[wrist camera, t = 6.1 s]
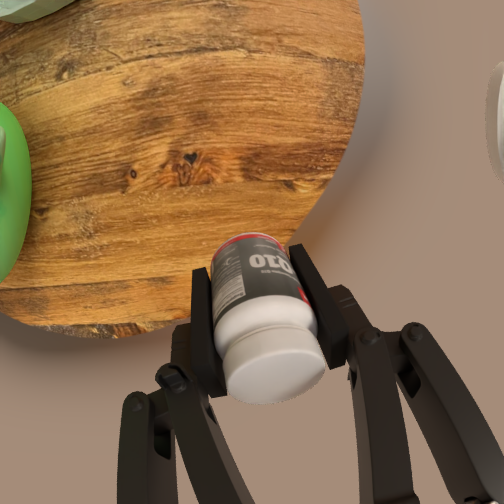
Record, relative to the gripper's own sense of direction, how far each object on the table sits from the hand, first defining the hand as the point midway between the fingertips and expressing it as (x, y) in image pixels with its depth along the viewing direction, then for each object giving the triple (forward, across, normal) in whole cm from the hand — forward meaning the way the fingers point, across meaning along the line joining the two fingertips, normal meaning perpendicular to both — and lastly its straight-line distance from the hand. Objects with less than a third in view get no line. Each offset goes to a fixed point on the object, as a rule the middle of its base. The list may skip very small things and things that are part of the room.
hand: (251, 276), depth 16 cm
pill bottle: (+1, 0, 0) cm, 1 cm away
